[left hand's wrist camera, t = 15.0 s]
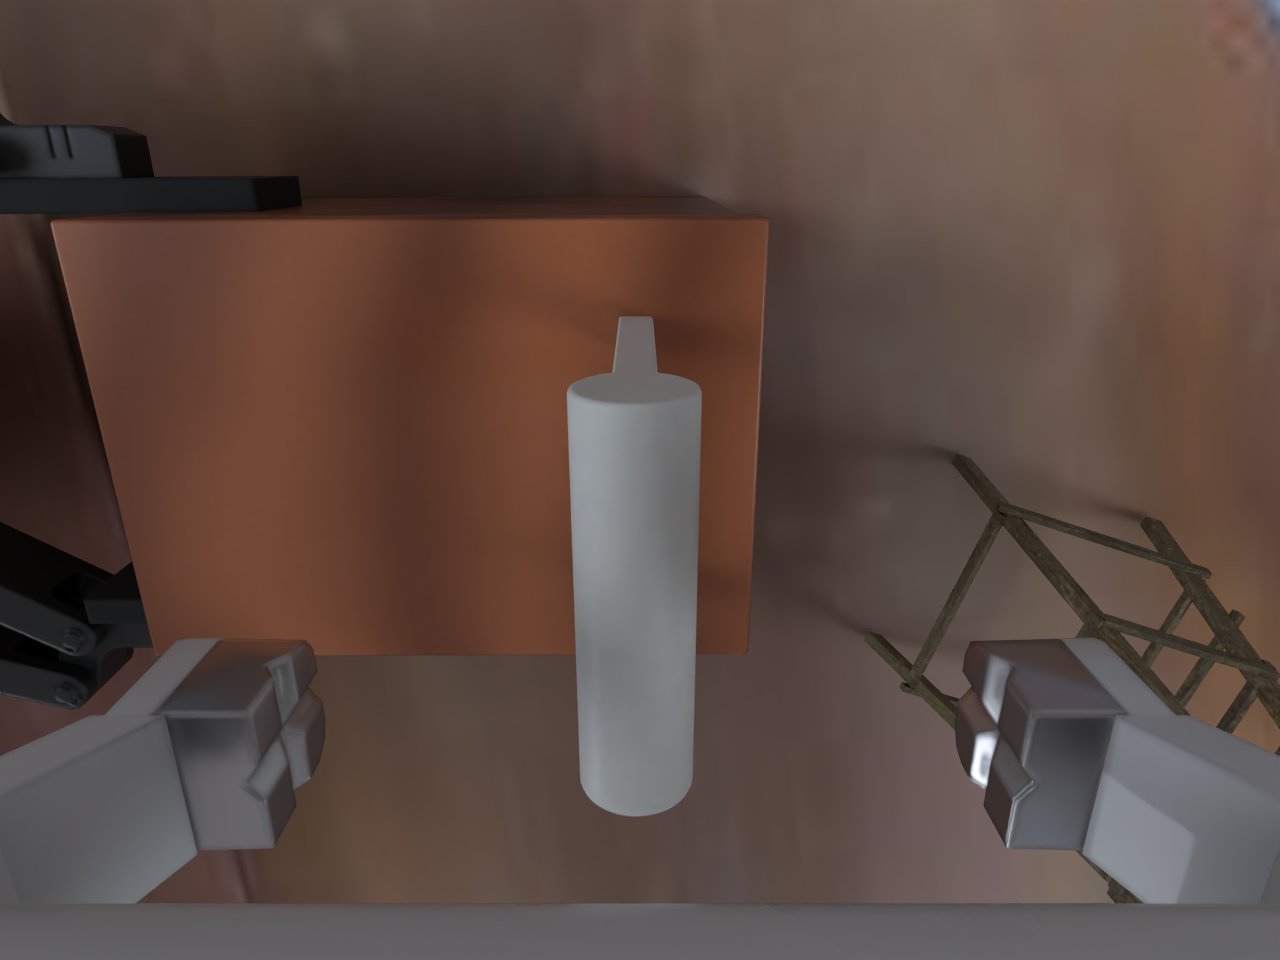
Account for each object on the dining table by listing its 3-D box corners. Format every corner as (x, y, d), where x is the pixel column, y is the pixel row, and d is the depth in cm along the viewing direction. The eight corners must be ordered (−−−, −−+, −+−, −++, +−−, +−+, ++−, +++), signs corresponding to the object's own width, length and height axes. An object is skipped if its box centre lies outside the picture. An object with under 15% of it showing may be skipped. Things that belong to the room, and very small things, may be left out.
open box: (705, 195, 27) (739, 213, 18) (698, 489, 31) (724, 627, 22) (273, 197, 27) (88, 216, 18) (317, 490, 31) (181, 629, 22)
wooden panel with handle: (761, 214, 18) (861, 257, 10) (742, 628, 22) (803, 905, 14) (86, 216, 18) (-362, 260, 10) (180, 630, 22) (-92, 908, 14)
